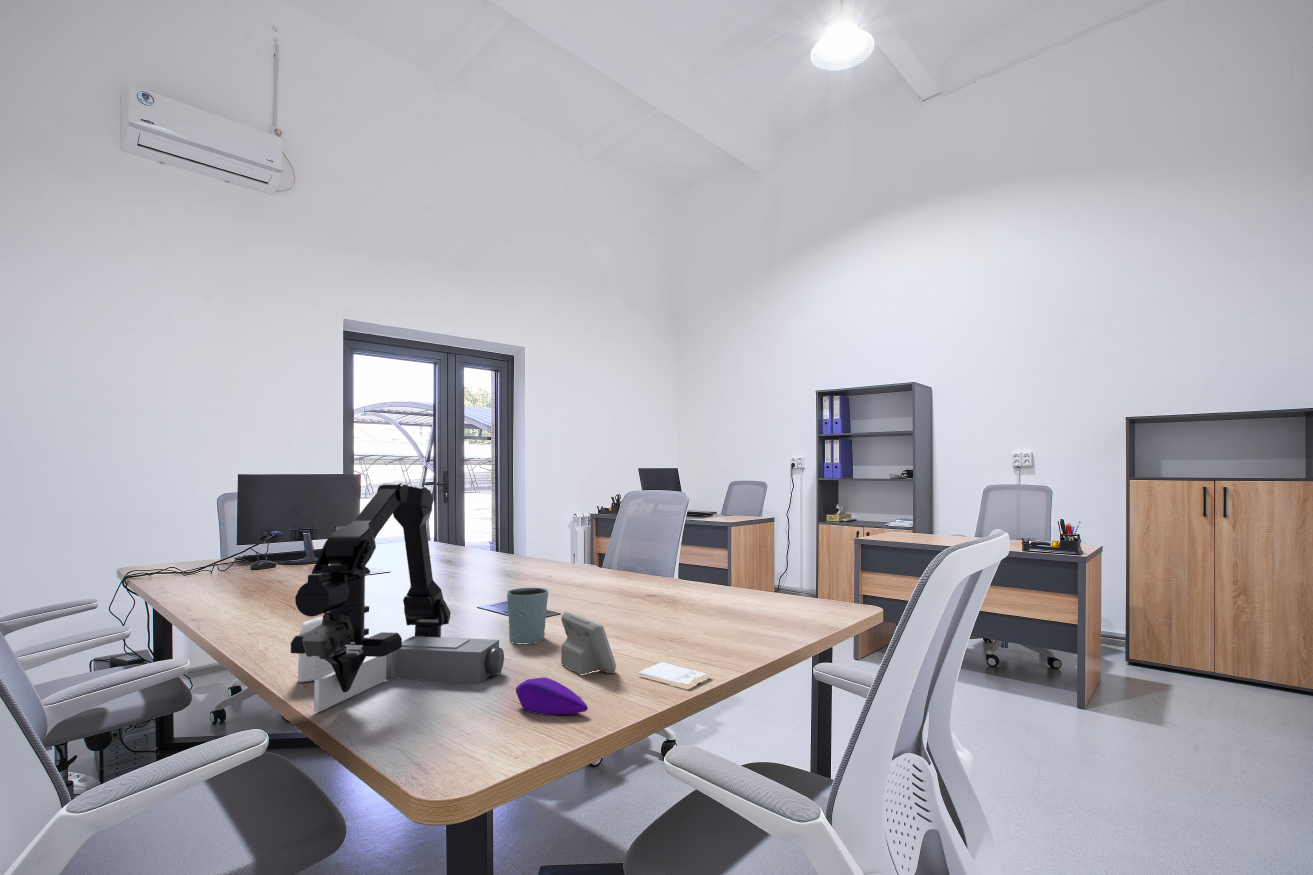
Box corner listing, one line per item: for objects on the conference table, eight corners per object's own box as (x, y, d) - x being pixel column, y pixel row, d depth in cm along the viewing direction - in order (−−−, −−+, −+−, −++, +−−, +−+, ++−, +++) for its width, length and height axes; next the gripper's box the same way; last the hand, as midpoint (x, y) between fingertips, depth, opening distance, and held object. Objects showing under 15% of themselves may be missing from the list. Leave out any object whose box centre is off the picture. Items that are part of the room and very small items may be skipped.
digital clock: (619, 675, 124) (618, 623, 124) (576, 681, 120) (577, 628, 120) (593, 653, 138) (593, 606, 139) (555, 658, 134) (555, 610, 135)
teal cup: (499, 644, 146) (500, 594, 147) (516, 632, 156) (516, 586, 157) (539, 645, 144) (539, 595, 145) (553, 634, 154) (553, 587, 155)
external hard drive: (662, 669, 129) (711, 681, 121) (638, 679, 123) (687, 693, 115) (662, 661, 129) (711, 672, 121) (638, 671, 123) (687, 684, 115)
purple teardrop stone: (582, 699, 101) (508, 678, 106) (579, 728, 101) (506, 706, 106) (595, 689, 105) (524, 670, 111) (593, 717, 105) (522, 696, 111)
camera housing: (412, 663, 131) (412, 634, 131) (507, 668, 128) (508, 638, 128) (387, 677, 122) (388, 646, 123) (489, 683, 119) (490, 651, 119)
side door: (391, 678, 121) (392, 651, 121) (320, 712, 104) (321, 680, 105) (383, 677, 122) (383, 650, 122) (311, 710, 105) (311, 679, 105)
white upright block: (353, 669, 128) (354, 610, 129) (355, 674, 124) (357, 614, 125) (297, 678, 122) (298, 617, 123) (298, 684, 119) (300, 621, 119)
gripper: (266, 612, 103) (264, 705, 102) (364, 615, 99) (362, 711, 98) (314, 598, 113) (312, 683, 112) (403, 600, 110) (403, 687, 109)
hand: (345, 691), depth 108 cm, fingers closed
